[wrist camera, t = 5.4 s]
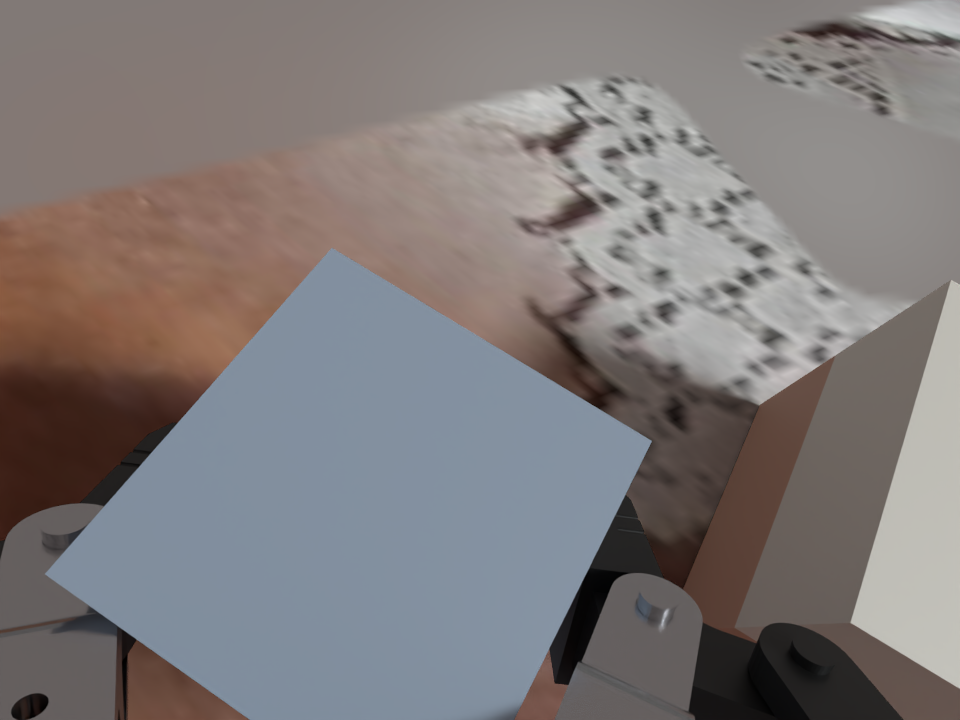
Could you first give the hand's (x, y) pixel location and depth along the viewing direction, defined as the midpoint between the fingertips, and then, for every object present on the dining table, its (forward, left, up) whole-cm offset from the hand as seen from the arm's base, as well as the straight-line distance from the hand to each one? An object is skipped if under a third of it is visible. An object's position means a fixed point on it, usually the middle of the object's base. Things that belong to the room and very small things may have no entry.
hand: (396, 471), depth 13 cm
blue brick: (+1, -2, -4) cm, 5 cm away
